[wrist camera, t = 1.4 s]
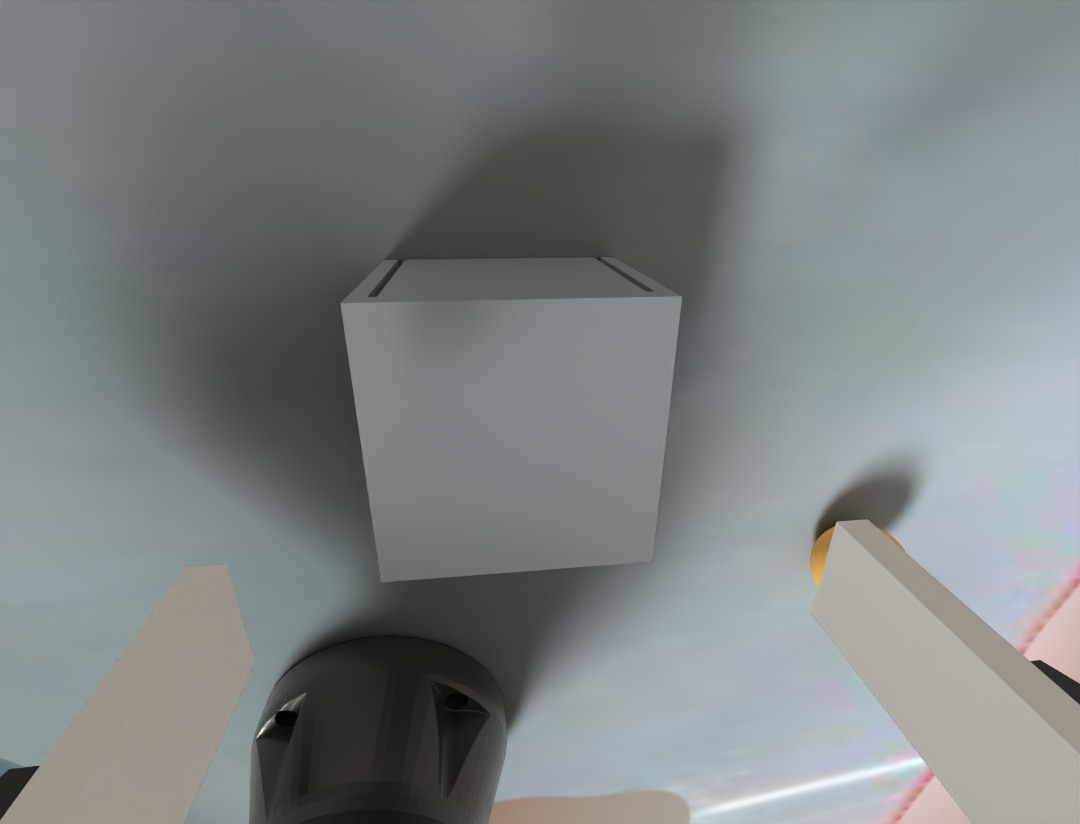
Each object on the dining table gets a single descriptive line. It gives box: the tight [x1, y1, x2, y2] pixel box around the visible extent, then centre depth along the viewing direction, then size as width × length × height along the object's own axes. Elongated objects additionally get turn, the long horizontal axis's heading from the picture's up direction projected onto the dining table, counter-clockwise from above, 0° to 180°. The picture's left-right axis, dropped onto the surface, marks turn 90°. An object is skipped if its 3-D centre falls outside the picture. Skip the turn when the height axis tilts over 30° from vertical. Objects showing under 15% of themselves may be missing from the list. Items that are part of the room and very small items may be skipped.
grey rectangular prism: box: [340, 257, 682, 583], centre depth 22 cm, size 10×10×9 cm
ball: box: [810, 526, 905, 587], centre depth 31 cm, size 5×5×5 cm
